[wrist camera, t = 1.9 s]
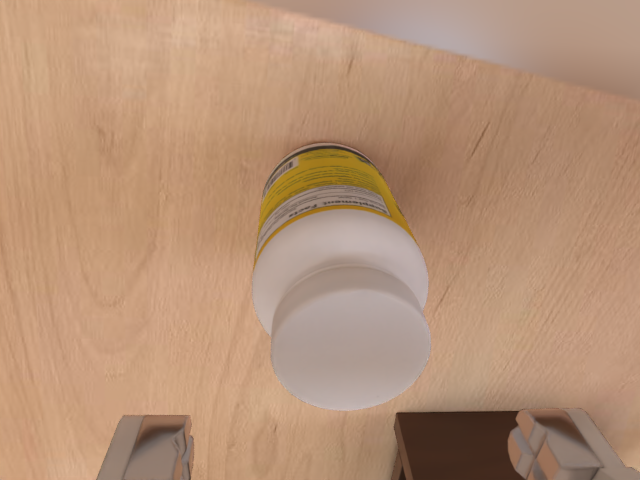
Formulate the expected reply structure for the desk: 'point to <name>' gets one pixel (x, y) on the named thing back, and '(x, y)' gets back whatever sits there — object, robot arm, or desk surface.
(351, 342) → the pill bottle
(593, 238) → the desk surface
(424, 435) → the shelf
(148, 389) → the desk surface
